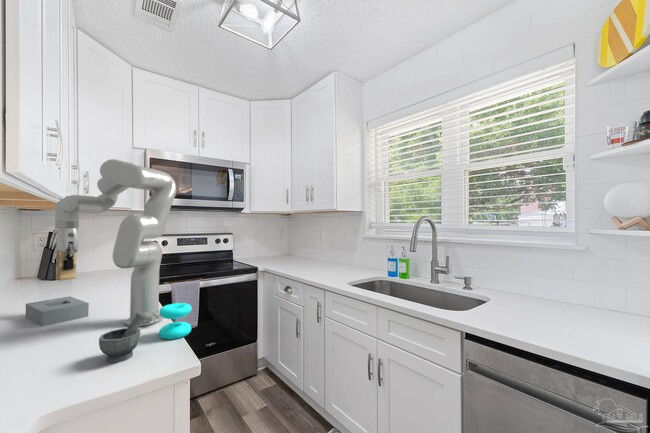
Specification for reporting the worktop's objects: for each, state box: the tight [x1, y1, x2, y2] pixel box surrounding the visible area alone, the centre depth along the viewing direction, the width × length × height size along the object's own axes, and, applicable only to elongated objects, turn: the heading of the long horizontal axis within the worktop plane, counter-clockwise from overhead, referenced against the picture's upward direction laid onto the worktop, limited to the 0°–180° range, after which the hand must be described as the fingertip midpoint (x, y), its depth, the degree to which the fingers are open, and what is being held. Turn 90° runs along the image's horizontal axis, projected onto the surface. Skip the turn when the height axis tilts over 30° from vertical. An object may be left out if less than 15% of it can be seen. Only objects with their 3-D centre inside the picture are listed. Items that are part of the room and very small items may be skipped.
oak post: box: [55, 249, 77, 281], centre depth 121 cm, size 5×5×12 cm
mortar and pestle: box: [98, 313, 146, 364], centre depth 84 cm, size 11×9×12 cm
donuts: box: [158, 302, 192, 340], centre depth 101 cm, size 10×10×10 cm
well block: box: [25, 295, 90, 328], centre depth 119 cm, size 20×14×6 cm
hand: (65, 268), depth 121 cm, fingers closed on oak post, 5 cm apart
